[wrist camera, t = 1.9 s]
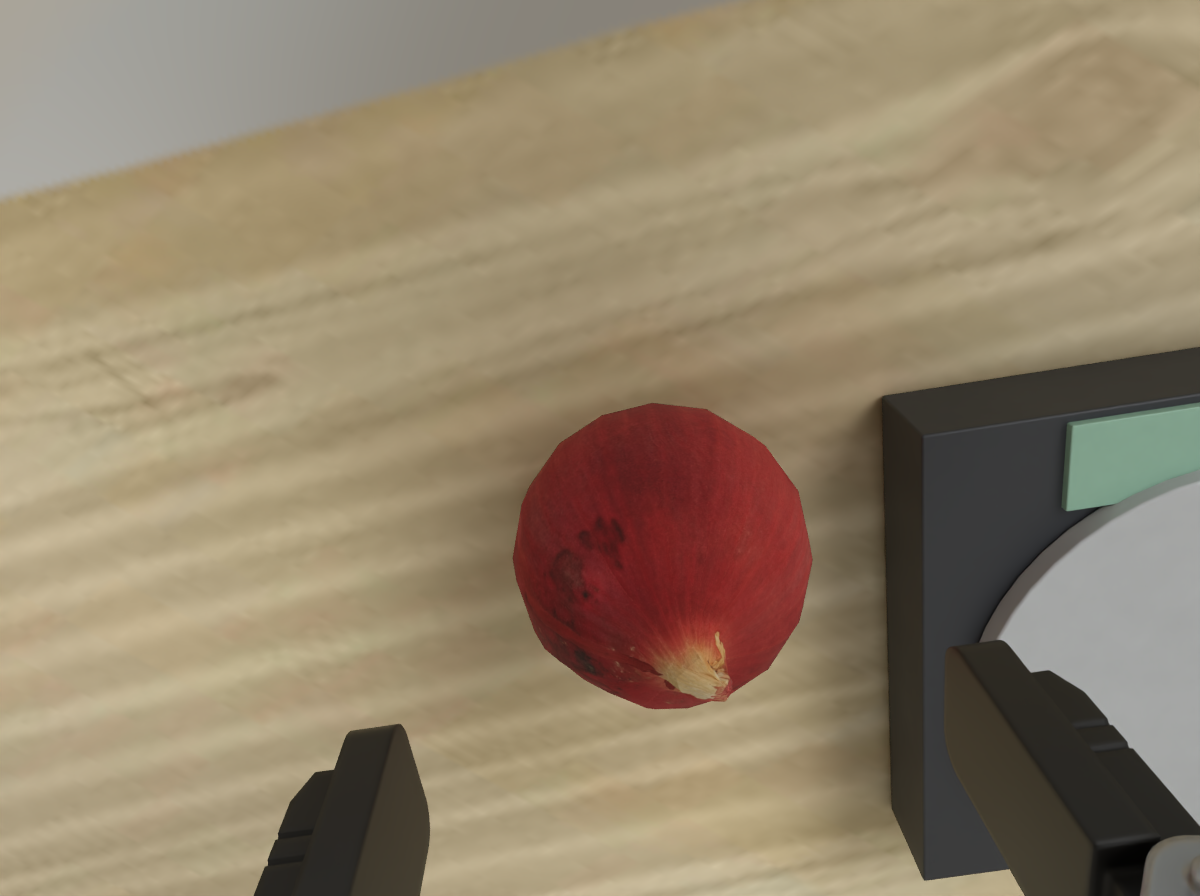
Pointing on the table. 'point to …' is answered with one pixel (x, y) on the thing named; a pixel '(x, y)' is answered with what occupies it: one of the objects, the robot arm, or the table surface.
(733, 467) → the onion
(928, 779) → the scale
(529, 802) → the table surface
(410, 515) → the table surface
